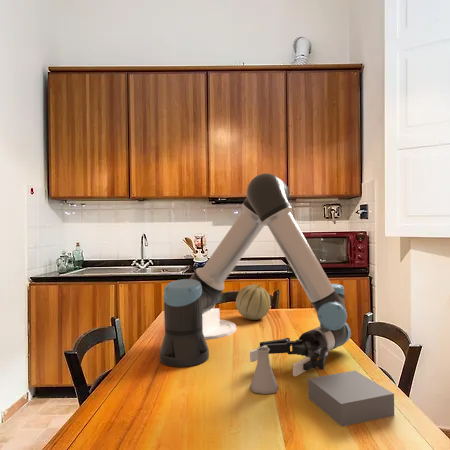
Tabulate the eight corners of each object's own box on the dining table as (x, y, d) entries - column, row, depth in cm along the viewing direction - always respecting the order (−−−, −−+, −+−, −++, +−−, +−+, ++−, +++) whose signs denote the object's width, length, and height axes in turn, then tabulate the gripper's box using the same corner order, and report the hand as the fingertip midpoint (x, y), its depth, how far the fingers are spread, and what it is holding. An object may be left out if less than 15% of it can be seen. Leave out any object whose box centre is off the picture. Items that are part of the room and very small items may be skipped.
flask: (280, 395, 89) (279, 353, 89) (250, 395, 89) (249, 354, 89) (276, 382, 96) (276, 343, 96) (248, 382, 97) (248, 344, 97)
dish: (180, 321, 159) (179, 295, 159) (238, 322, 156) (238, 295, 156) (164, 340, 134) (163, 308, 134) (233, 340, 131) (232, 309, 131)
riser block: (341, 428, 75) (341, 404, 75) (308, 399, 87) (308, 378, 87) (394, 417, 79) (394, 393, 79) (355, 390, 91) (355, 370, 91)
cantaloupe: (235, 315, 166) (234, 281, 165) (267, 314, 166) (266, 280, 166) (238, 324, 151) (237, 287, 151) (274, 323, 152) (273, 286, 152)
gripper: (357, 366, 100) (315, 393, 85) (281, 345, 118) (235, 365, 103) (356, 338, 100) (314, 360, 85) (281, 322, 118) (235, 338, 103)
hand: (271, 363), depth 94 cm, fingers open, 13 cm apart
